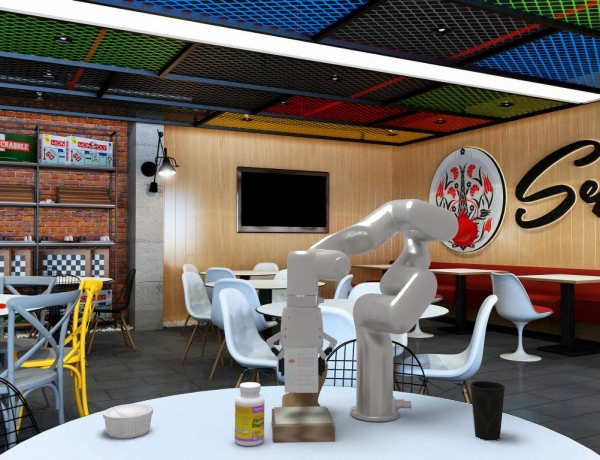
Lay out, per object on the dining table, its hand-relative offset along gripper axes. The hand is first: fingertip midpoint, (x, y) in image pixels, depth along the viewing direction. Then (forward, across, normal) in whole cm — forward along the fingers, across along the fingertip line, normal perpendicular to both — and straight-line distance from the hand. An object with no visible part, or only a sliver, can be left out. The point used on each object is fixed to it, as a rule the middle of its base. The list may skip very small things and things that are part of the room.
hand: (301, 374), depth 137 cm
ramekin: (+14, +41, -2) cm, 43 cm away
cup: (+13, -43, +6) cm, 46 cm away
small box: (+4, 0, 0) cm, 4 cm away
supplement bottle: (+14, +12, +6) cm, 19 cm away
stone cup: (+14, -2, -16) cm, 21 cm away
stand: (+14, 0, 0) cm, 14 cm away
